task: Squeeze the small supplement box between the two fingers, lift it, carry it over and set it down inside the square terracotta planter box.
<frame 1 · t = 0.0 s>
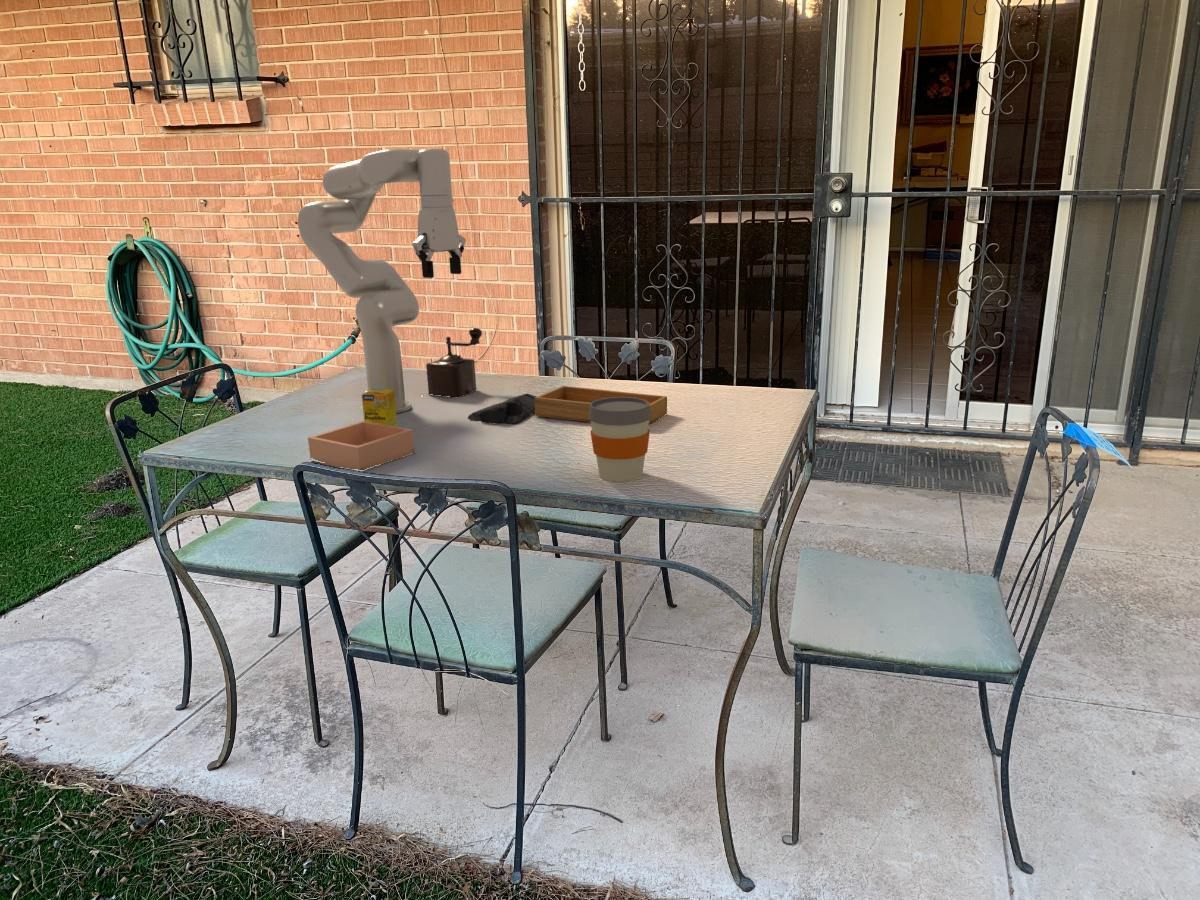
hand: (442, 275, 214), 37 cm above the table, tool pointing down, fingers open, 9 cm apart
reusable coffee cup: (620, 475, 180), on the table
supplement box: (382, 436, 213), on the table
planter box: (363, 457, 196), on the table
dark slate chunk: (509, 415, 231), on the table
tray: (601, 418, 226), on the table
manual coffee grinder: (458, 391, 258), on the table
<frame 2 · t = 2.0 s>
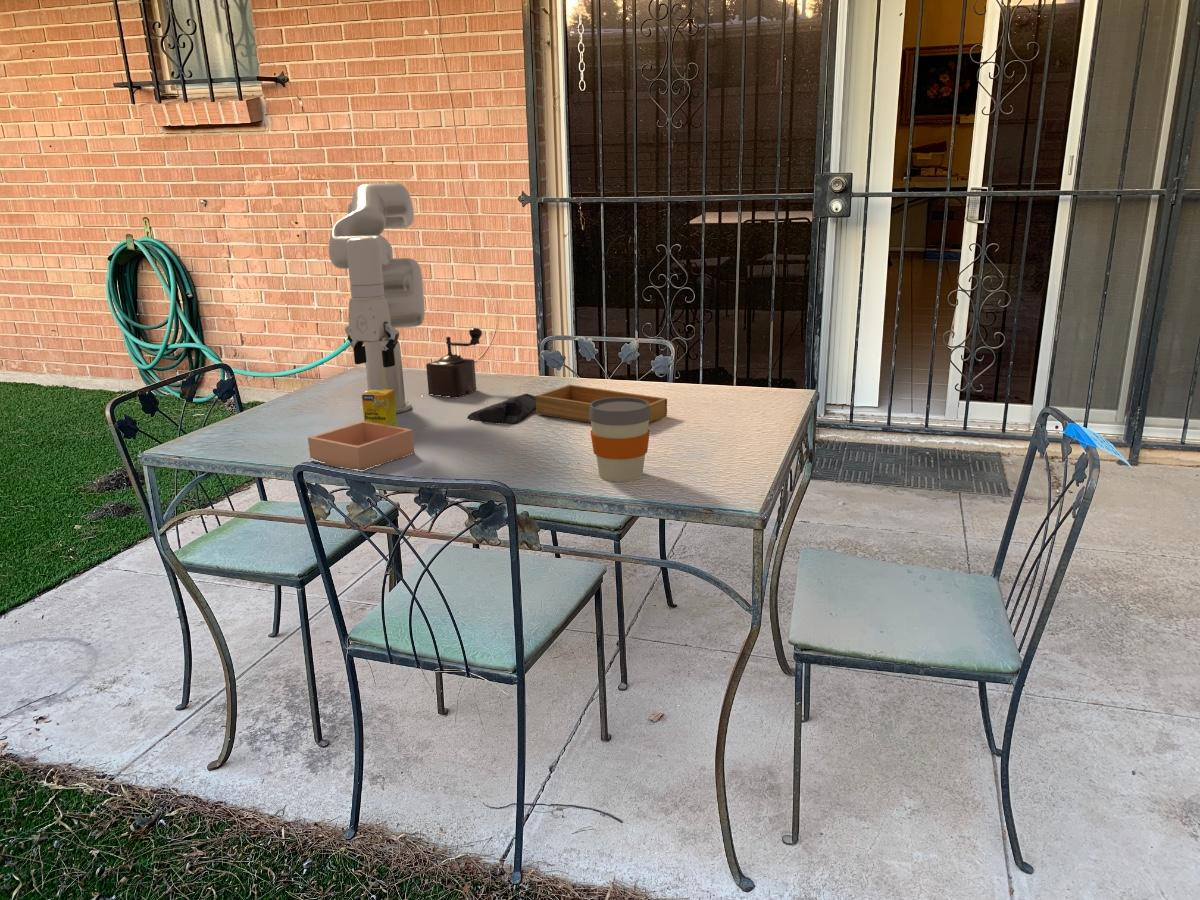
hand: (374, 364, 208), 17 cm above the table, tool pointing down, fingers open, 9 cm apart
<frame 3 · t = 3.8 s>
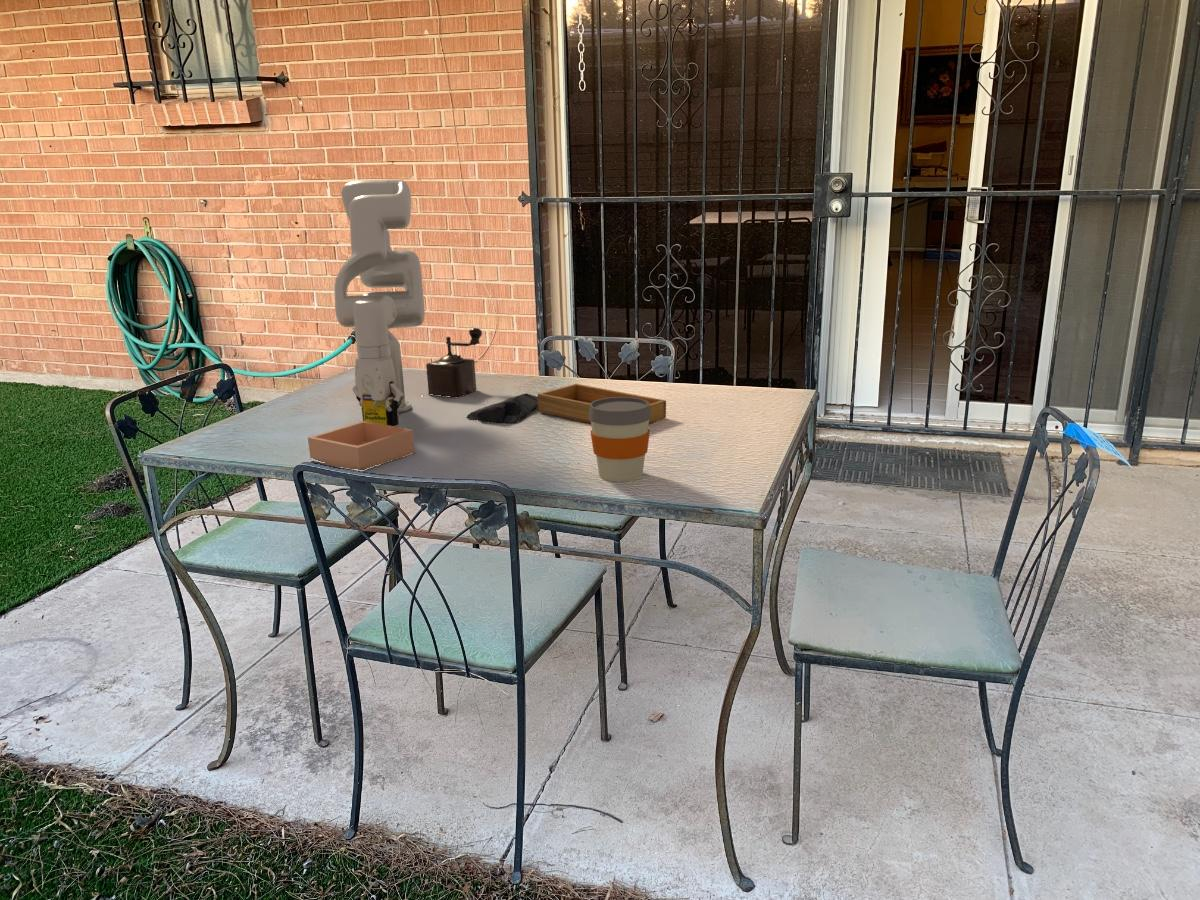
hand: (380, 423, 212), 3 cm above the table, tool pointing down, fingers closed on supplement box, 7 cm apart
supplement box: (382, 436, 213), on the table, touching gripper
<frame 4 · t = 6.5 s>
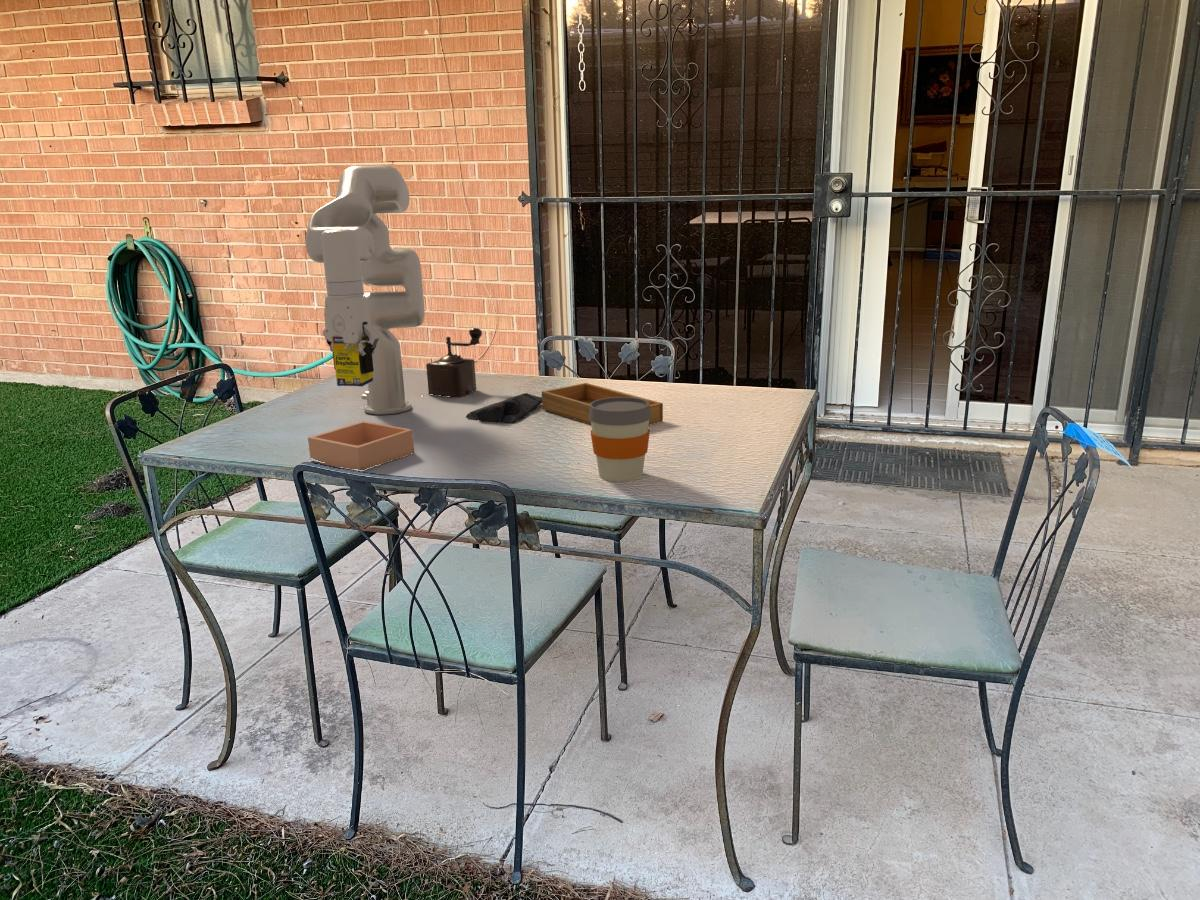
hand: (354, 370, 190), 20 cm above the table, tool pointing down, fingers closed on supplement box, 7 cm apart
supplement box: (355, 384, 191), point 17 cm above the table, touching gripper
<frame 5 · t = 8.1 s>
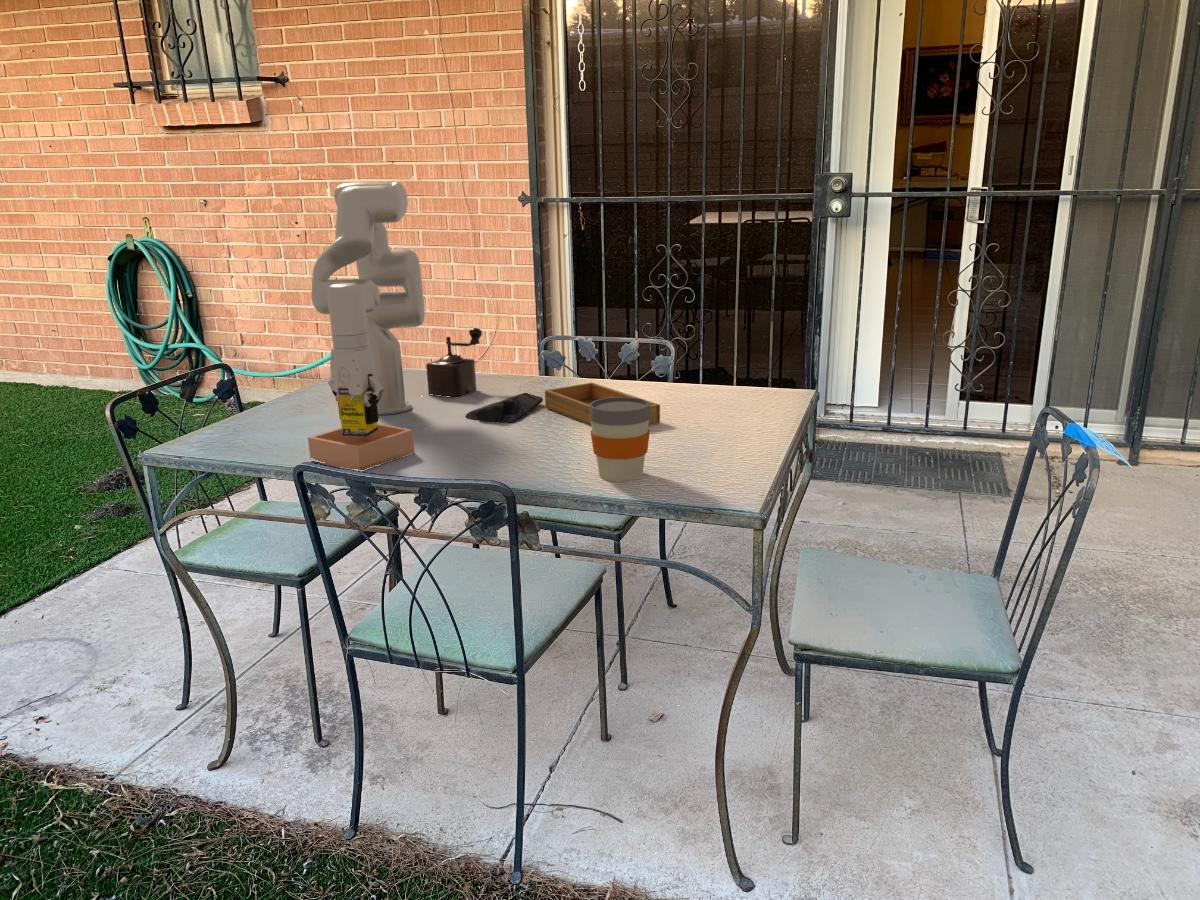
hand: (359, 420, 193), 9 cm above the table, tool pointing down, fingers closed on supplement box, 7 cm apart
supplement box: (360, 433, 194), point 5 cm above the table, touching gripper
when the fingers open (6 cm above the table, at t = 9.2 s): supplement box drops 2 cm, resting on planter box.
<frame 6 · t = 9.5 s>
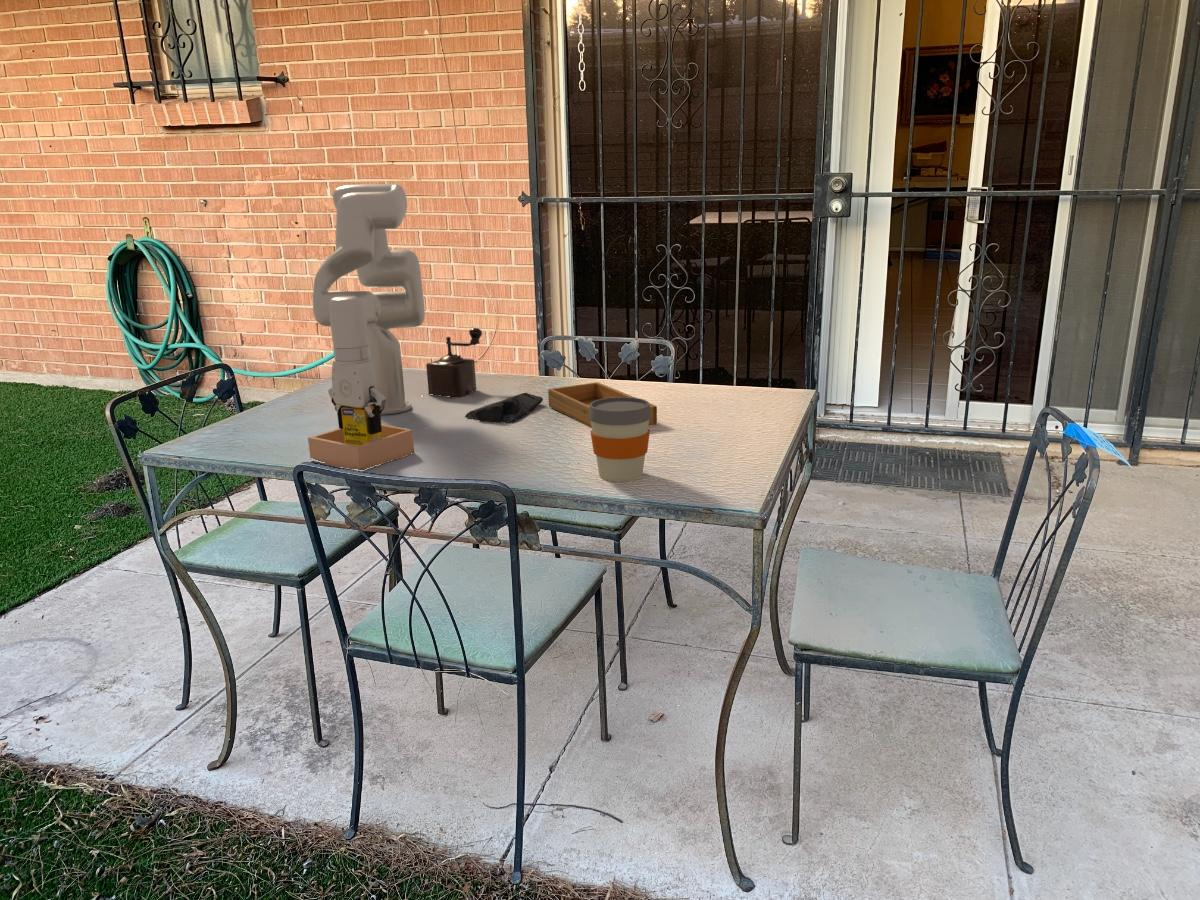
hand: (360, 430, 194), 6 cm above the table, tool pointing down, fingers open, 9 cm apart
supplement box: (364, 453, 196), point 1 cm above the table, touching planter box
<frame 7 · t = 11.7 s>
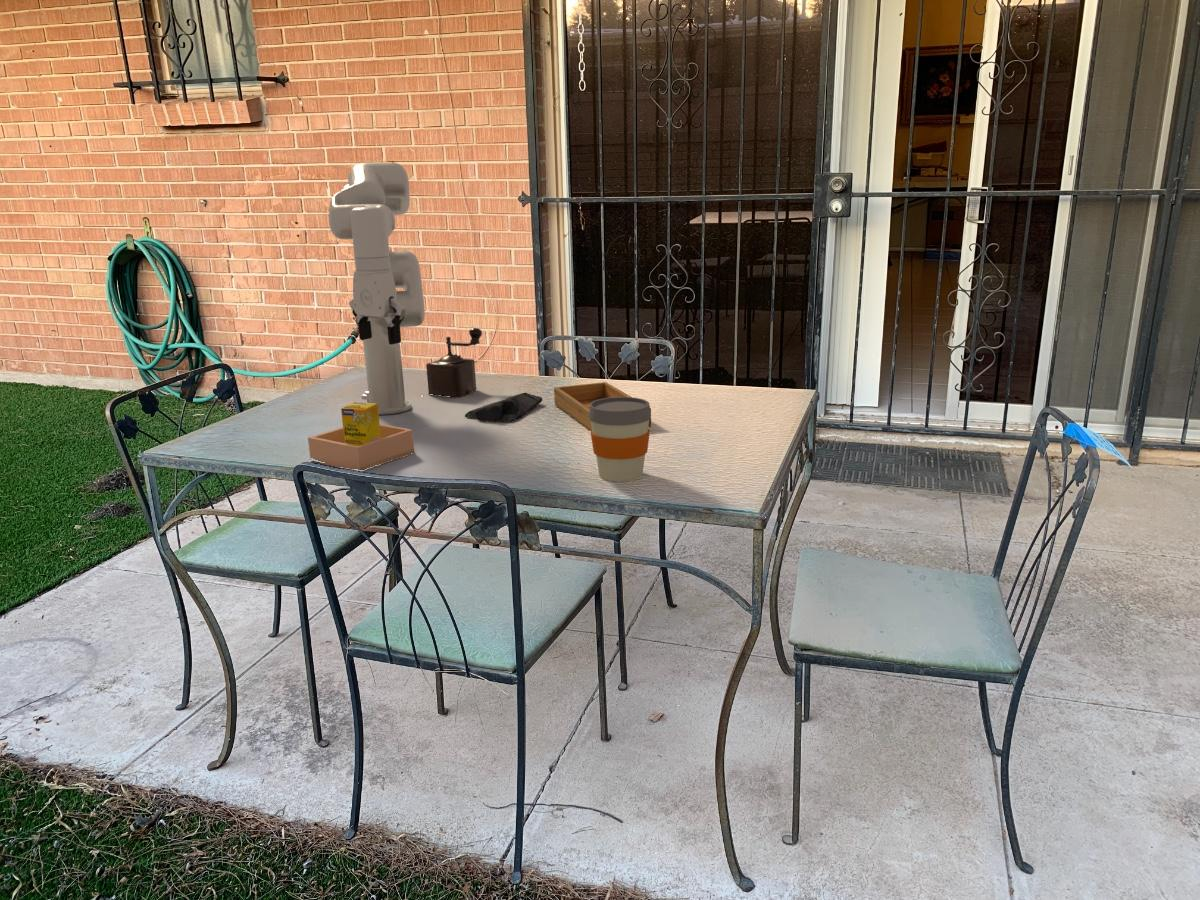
hand: (380, 341, 199), 24 cm above the table, tool pointing down, fingers open, 9 cm apart
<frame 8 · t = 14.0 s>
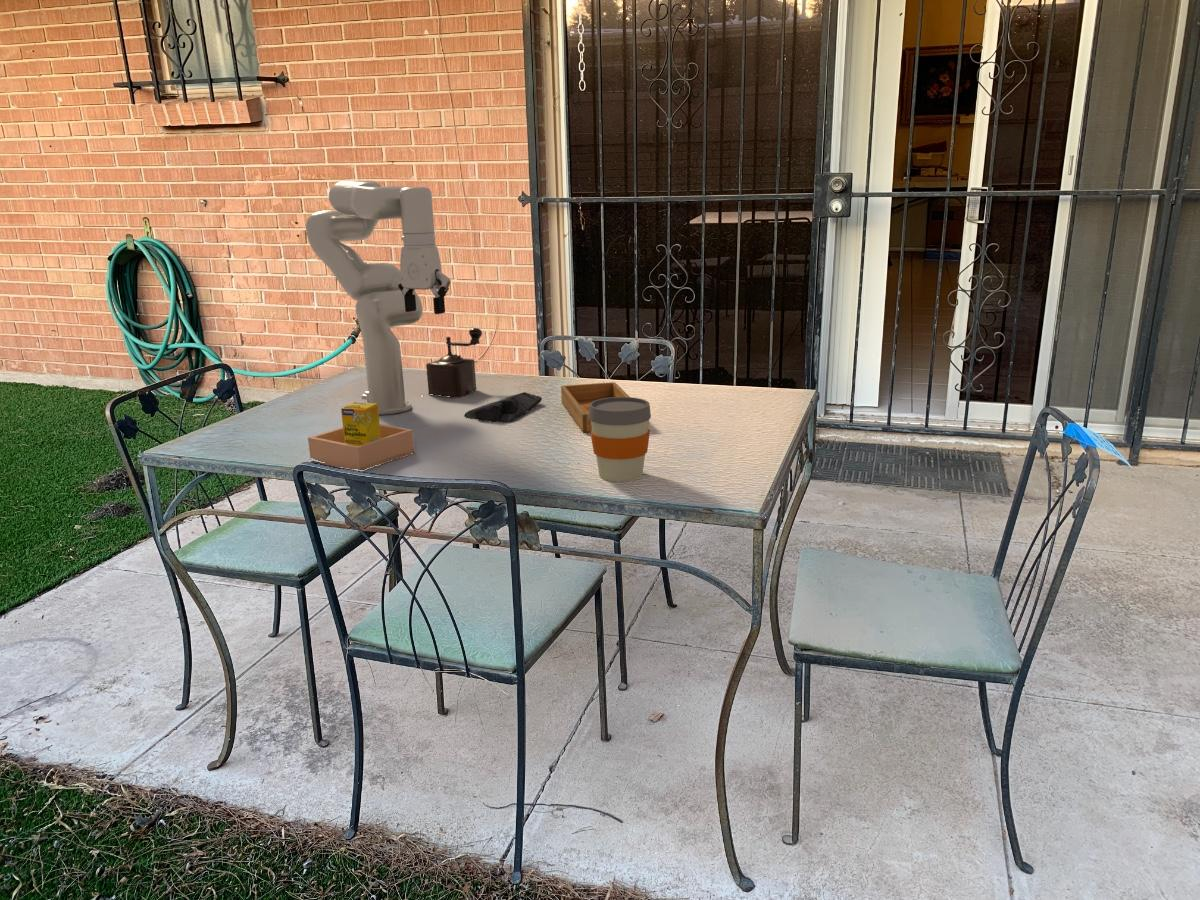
hand: (425, 312, 214), 28 cm above the table, tool pointing down, fingers open, 9 cm apart
at the end: supplement box inside the target area on the planter box (0.4 cm from its centre), point 0.8 cm above the planter box's base; the gripper is holding nothing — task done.
